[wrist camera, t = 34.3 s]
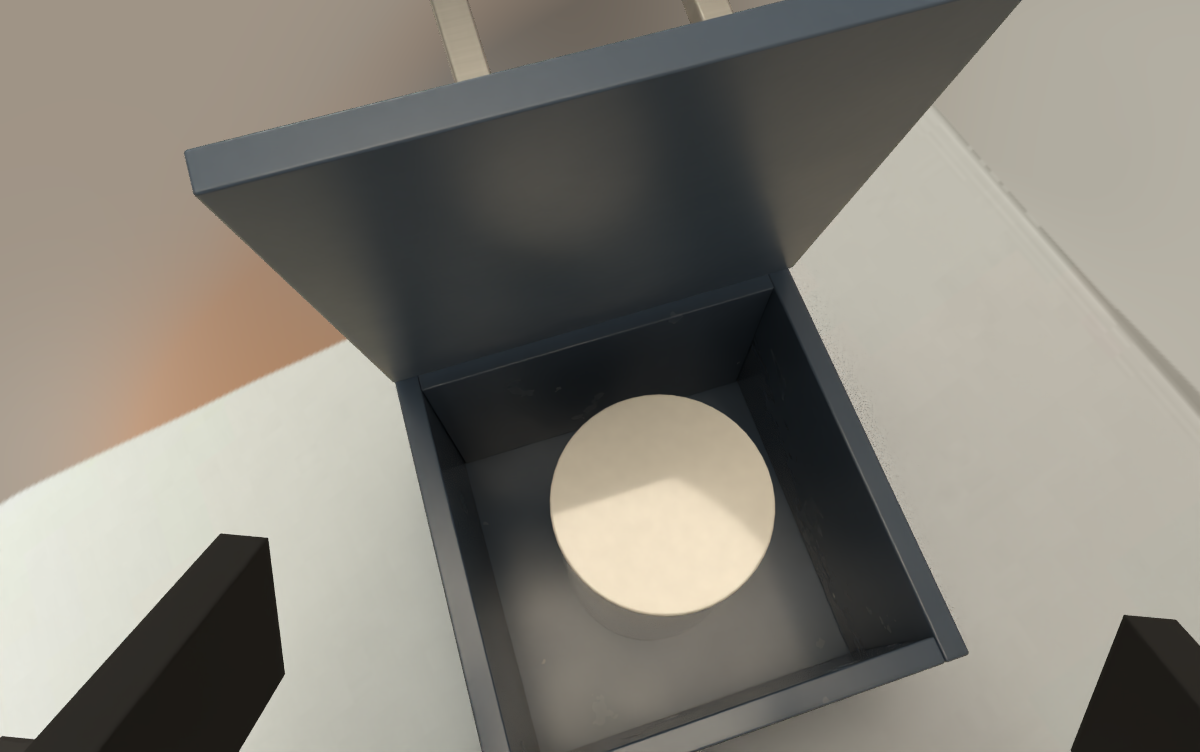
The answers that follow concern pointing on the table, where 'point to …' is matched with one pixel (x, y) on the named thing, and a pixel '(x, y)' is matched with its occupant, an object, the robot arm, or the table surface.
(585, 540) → the beige canister
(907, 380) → the table surface
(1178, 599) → the table surface
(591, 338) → the grey box
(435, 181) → the box lid
